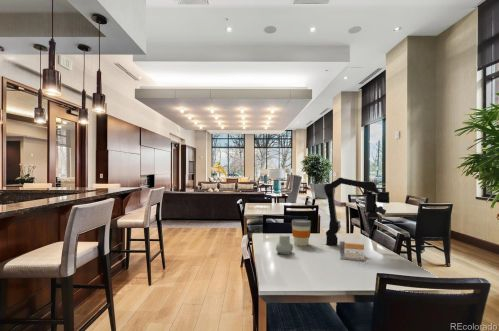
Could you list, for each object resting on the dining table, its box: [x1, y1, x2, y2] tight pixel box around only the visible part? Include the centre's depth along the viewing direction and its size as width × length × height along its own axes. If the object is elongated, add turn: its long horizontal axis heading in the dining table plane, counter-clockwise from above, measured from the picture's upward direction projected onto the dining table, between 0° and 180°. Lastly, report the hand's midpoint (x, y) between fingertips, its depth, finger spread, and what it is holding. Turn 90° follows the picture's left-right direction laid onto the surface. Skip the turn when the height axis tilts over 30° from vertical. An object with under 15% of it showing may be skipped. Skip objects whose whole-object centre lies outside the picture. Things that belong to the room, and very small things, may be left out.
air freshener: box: [275, 233, 294, 255], centre depth 163 cm, size 11×8×10 cm
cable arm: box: [339, 240, 365, 251], centre depth 160 cm, size 13×3×4 cm, turn 73°
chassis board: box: [339, 247, 366, 262], centre depth 160 cm, size 12×20×3 cm, turn 163°
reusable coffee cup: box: [291, 218, 312, 247], centre depth 184 cm, size 13×13×15 cm
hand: (370, 227), depth 173 cm, fingers open, 9 cm apart
